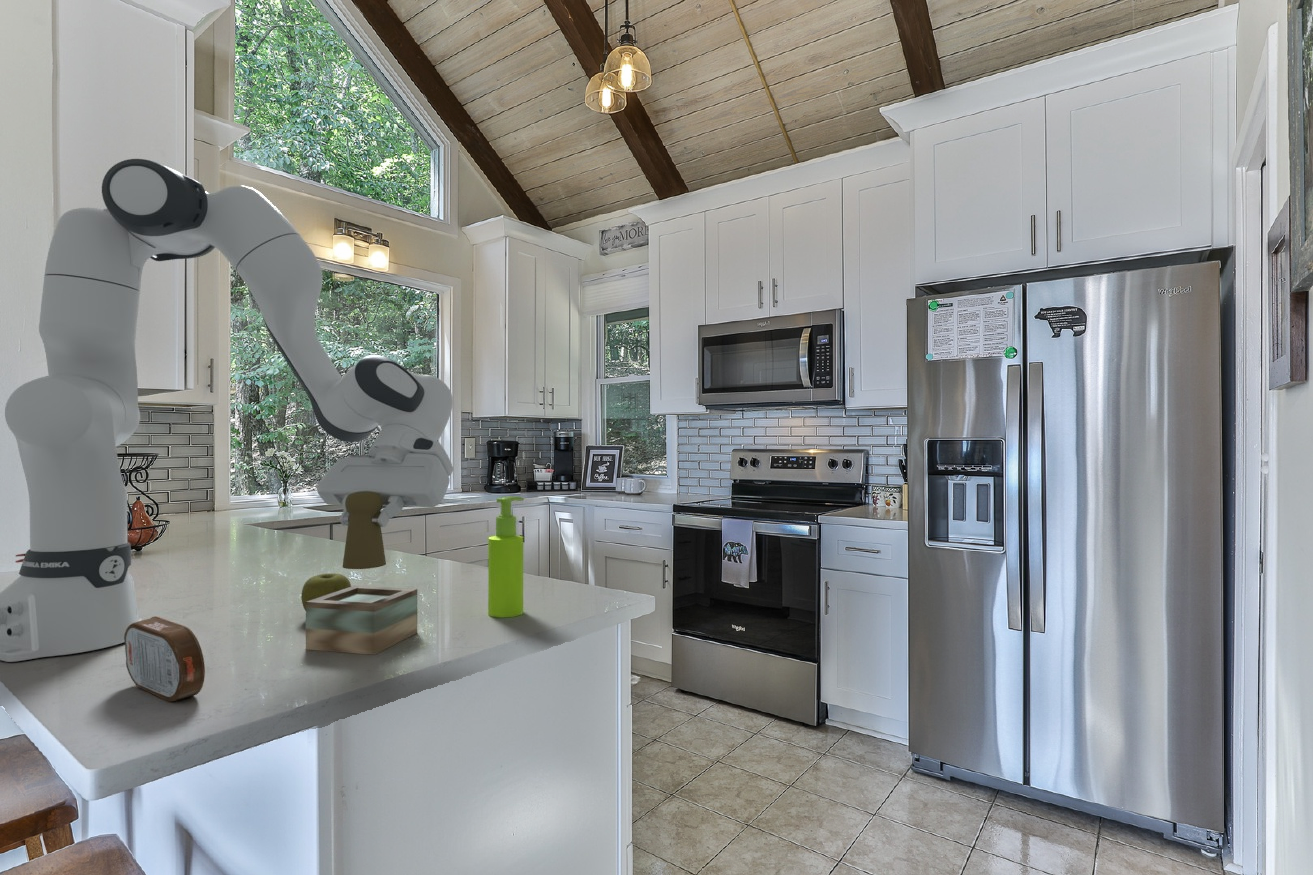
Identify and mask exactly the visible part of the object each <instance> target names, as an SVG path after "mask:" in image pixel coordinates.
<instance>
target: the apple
mask: <svg viewBox="0 0 1313 875" xmlns="http://www.w3.org/2000/svg"><path fill="white" fill-rule="evenodd" d="M349 587H352V584H351V581H350V580H349V578H347V576H345V575H343V574H340V573H322V574H317V575H314V576H312V577H310V578H308V579H306V581H305V582H304V584H303V585H302V589H301V604H302V606H303V609H304V610H305V612H306V602H307V601H310V600H313V599H316V598H319V597H322V596H325V595H328V594H331V593H334V592H337V591H340V590H343V589H346V588H349Z"/></svg>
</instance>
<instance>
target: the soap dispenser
mask: <svg viewBox="0 0 1313 875" xmlns="http://www.w3.org/2000/svg"><path fill="white" fill-rule="evenodd" d="M524 498H525V497H520V496H503V497H498V498H496V503H500V514H499V515H498V516H496V517H495V535H492V536H489V537H488V539H487V540H488V541H487V542H488V552H487V556H488V563H487V566H488V567H487V568H488V573H487V574H488V576H487V578H488V580H487V582H488V585H487V586H488V590H487V591H488V596H487V597H488V598H487V599H488V600H487V601H488V602H487V604H488V605H487V606H488V607H487V608H488V609H487V610H488V612H487V614H488V616H490V617H492V618H504V619H505V618H513V617H518V616H521V615H522V614H523V613H524V536H522V535H519V534H517V516H515V515H513V514H512V502H514V501H516V502H517V501H520V502H522V501H524V500H525V499H524Z"/></svg>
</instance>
